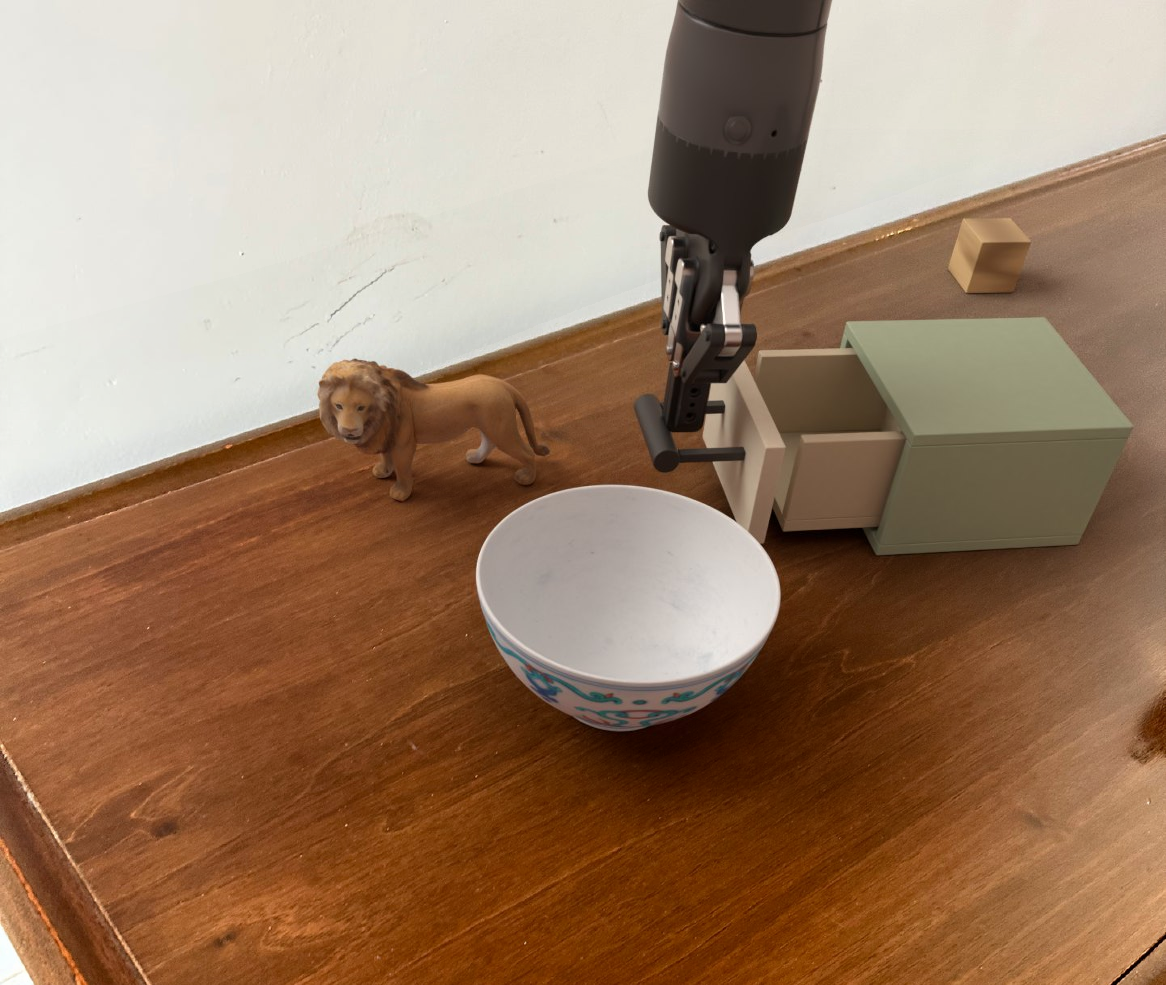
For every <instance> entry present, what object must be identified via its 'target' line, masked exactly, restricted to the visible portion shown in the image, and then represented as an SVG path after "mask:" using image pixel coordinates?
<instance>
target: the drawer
mask: <svg viewBox="0 0 1166 985" xmlns="http://www.w3.org/2000/svg"><path fill="white" fill-rule="evenodd" d="M663 403H664V401H660V399H659V398H658V396H656V395H655V394H653V393H644V394H641V395H640V396H638V397H637V398H636V399H635V402H634V404H633V409H634V410H633V411H634V413H635V416H636V419H637V422H638V424H639V427H640V430H641V433H642V436H643V439H644V443H645V445H646V448H647V451H648V454H649V456H650V460H651V462H652V466H653V467H654V469H655V471H657V472H659V473H664V474H667V473H671V472H673V471H674V470H676V469H677V467H679V465H680V464H687V463H688V464H689V463H690V464H693V463H712V465H713V467H714V470H715V472H716V475H717V477H718V480H719V482H720V484H721V488H722V490H723V492H724V495H725V497H726V499H727V502H728V504H729V508H730V509H731V512H732V514H733V516H734V519H735V522H737V523H738V524H739V525H741V526H742V527H743V528H744V529H746V530H747V531H748V532H749V533H750V534H751V535H752V536H753V537H754V538H755V539H756V540H757V541H758V542H759V543H760V545H763V544H764V543H765V540H766V536H767V531H768V527H769V521H770V518H771V514H772V510H773V512H774V515H775V517H776V519H777V522H778V523H779V526H780V528H781V531H782V532H798V531H818V530H821V531H822V530H837V529H838V530H839V529H840V530H841V529H859V528H862V527H879V525H880V522H881V518H882V515H883V512H884V509H885V506H886V502H887V499H888V496H889V493H890V490H891V487H892V483H893V480H894V477H895V474H896V471H897V467H898V464H899V461H900V458H901V455H902V452H903V448H904V445H905V442H906V440H907V439H906V437H905V435H904V433H903V432H902V430H901V428H900V427H899V425H898V423H897V422H896V420H895V418H894V417H893V415H892V413H891V411H890V410H889V408H888V406H887V405H886V403H885V401H884V400H883V398H882V396H881V395H880V393H879V391H878V389H877V388H876V386H875V384H874V383H873V381H872V379H871V378H870V376H869V374H868V373H867V371H866V369H865V367H864V366H863V364H862V362H861V361H860V359H859V357H858V356H857V354H856V352H855V351H854V349H853V348H840V347H839V348H838V347H837V348H810V349H809V348H801V349H797V348H796V349H762V350H761V349H760V350H758V354H757V360H756V364H755V369H754V375H752V372H751V370H750V368H749V366H748V364H747V362H746V359H745V360H744V361H743V362H742V364H741V365H740V366H739V367H738V369H737V370H736V371H735V373H734V374H733V375H732V377H731V378H730V379H729V380H728V382H727V383H711V385H710V390H709V396H708V401H707V406H706V412H705V418H704V424H703V431H702V439H703V442H704V444H705V447H699V448H697V447H696V448H678V447H677V445H676V443H675V439H674V438H673V435H672V434H673V433H672V432H670V431H669V430H668V429H667V426H666V423H665V420H664V418H663V415H662V410H663Z"/></svg>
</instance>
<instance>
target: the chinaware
mask: <svg viewBox="0 0 1166 985" xmlns="http://www.w3.org/2000/svg"><path fill="white" fill-rule="evenodd" d="M475 583H476V590H477V596H478V599H479V604H480V607H481V611H482V615H483V617H484V621H485V623H486V626H487V629H488V631H489V633H490V636H491V638H492V640H493V642H494V645H495V646H496V648H497V650H498V653H499V654H500V655H501V657H502V658H503V660H504V662H505V663H506V664H507V666H508V667H509V669H510V670H511V671H512V672H513V674H514V675H515V676H516V677H517V678H518V679H519V680H520V681H521V682H522V683H523V685H524V686H525V687H527V689H529V690H530V691H531V692H532V693H533V694H535V696H537V697H538V698H539V699H541V700H542V701H543V702H545V703H547V704H548V705H550V706H551V707H552V708H555V709H557V710H558V711H560V712H562V713H564V714H566V715H568V716H571V717H573V718H574V719H576V720H577V721H579V722H581V723H583V724H585V725H587V726H590V727H593V728H596V729H599V730H602V731H603V730H604V731H610V732H630V731H636V730H641V729H645V728H647V727H651V726H657V725H662V724H666V723H670V722H673V721H676V720H679V719H681V718H684V717H686V716H689V715H691V714H693V713H695V712H698V711H699V710H701V709H703V708H705V707H706V706H708V705H709V704H710V703H713V702H714V701H716V700H717V699H718V698H719V697H721V696H722V695H723V694H724V693H726V692H727V691H728V690H729V689H730V688H731V687H732V686H733V685H734V684H735V683H736V682H737V681H738V680H739V679H740V678H741V677H742V676H743V674H745V673H746V672H747V670H748V669H749V668H750V666H751V665H752V664H753V662H754V661H755V660H756V658H757V657H758V655H759V653H760V652H761V650H762V649H763V647H764V645H765V644H766V642H767V641H768V638H769V636H770V635H771V633H772V631H773V629H774V626H775V624H776V621H777V618H778V615H779V612H780V607H781V597H782V596H781V585H780V584H781V583H780V578H779V575H778V573H777V570H776V568H775V565H774V563H773V561H772V559H771V557H770V556H769V553H768V552H767V551H766V550H765V548H764V547H763V546H762V544H760V543H759V542H758V541H757V540H756V539H755V538H754V537H753V536H752V535H751V534H750V533H749V532H748V531H747V530H746V529H744V528H743V527H742V526H741V525H739V524H738V523H737V522H736V520H734V519H732V518H731V517H730V516H728V515H726V514H725V513H723V512H722V511H720V510H718V509H716V508H714V507H712V506H710V505H708V504H705V503H703V502H701V501H698V500H697V499H696V500H695V499H693V498H690V497H688V496H685V495H682V494H679V493H675V492H671V491H668V490H663V489H658V488H653V487H647V486H638V485H626V484H597V485H595V484H594V485H588V486H587V485H585V486H578V487H572V488H568V489H562V490H559V491H556V492H552V493H549V494H546V495H544V496H540V497H538V498H536V499H533V500H530V501H529V502H527V503H525V504H523V505H521V506H519V507H518V508H517V509H515V510H513V511H512V512H510V513H509V514H508V515H507V516H505V517H504V518H503V519H502V520H501V521H500V522H499V523H498V524H496V526H494V528H493V529H492V530H491V531H490V533H489V534H488V535H487V537H486V539H485V540H484V542H483V544H482V546H481V549H480V550H479V554H478V558H477V561H476V569H475Z"/></svg>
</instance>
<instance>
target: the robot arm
mask: <svg viewBox="0 0 1166 985" xmlns="http://www.w3.org/2000/svg"><path fill="white" fill-rule="evenodd" d="M676 2H677V3H676V7H675V8H676V9H675V14H674V18H673V22H672V25H671V26H672V27H671V30H670V34H669V38H668V42H667V46H666V51H665V57H664V63H663V71H662V79H661V87H660V94H659V103H658V110H657V116H656V125H655V133H654V140H653V149H652V156H651V165H650V172H649V179H648V180H649V181H648V188H647V199H648V203H649V206H650V207H651V209H652V211H653V212H654V214H655V215H656V216H657V217H658V218H659V219H661V220H662V222H664V223H666V224H663V225H662V226H661V230H660V232H659V242H660V287H661V289H660V290H661V291H660V294H661V321H660V328H661V331H662V335H663V336H667V341H666V342H667V344H666V345H665V354H666V358H667V361H668V362H669V366H668V372H667V378H666V383H665V384H666V385H665V391H664V397H663V402H664V403H663V410H662V415H663V418H664V420H665V423H666V426H667V429H668V430H669V431H670V432H671V433H696V432H699V431H700V430H701V429H703V427H704V423H705V418H706V414H705V412H706V406H707V401H709V395H710V388H711V383H727V382H728V380H729V379H730V378H731V377H732V375H733V374H734V373H735V371H736V370H737V369H738V367H739V366H740V365H741V364H742V362H743V361H744V360H745V361H746V359H747V357H748V356H749V355H750V353H751V352H752V350H753V349H754V348H755V346H756V342H757V340H758V331H757V327H756V324H755V323H741V315H742V314H741V313H742V309H743V305H744V301H745V299H746V297H748V296H749V295H750V293H751V289H752V285H753V280H754V277H755V263H754V260H753V259H752V253H751V251H752V249H753V247H754V246H755V245H756V244H758V243H759V242H760V241H762V240H764V239H765V238H768V237H769V236H773V235H775V234H777V233H779V232H780V231H782V230H783V229H784V228H785V227H786V226H787V224H788V223H789V221H790V219H791V217H792V214H793V210H794V204H795V200H796V195H797V190H798V186H799V183H800V182H799V181H800V177H801V173H802V168H803V163H804V160H805V155H806V150H807V145H808V140H809V135H810V132H811V128H812V122H813V118H814V113H815V109H816V103H817V100H818V96H819V91H820V86H821V79H822V74H823V73H822V72H823V66H824V53H825V43H826V35H827V29H828V22H829V21H828V20H829V18H830V13H831V9H832V3H833V0H677V1H676Z"/></svg>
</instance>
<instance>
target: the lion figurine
mask: <svg viewBox="0 0 1166 985" xmlns="http://www.w3.org/2000/svg"><path fill="white" fill-rule="evenodd" d="M316 395H317V397H318V400H319V402H318V409H319V419H320V421H321V423H322V426H323V427H324V429H325V430H326V431H327V433H328V434H329V435H331V436H333V437H334V438H335V439H338V440H339V441H341V442H344V443H345V444H347V445H350V446H354V447H356V448H357V449H358V451H359V452H360V453H362V454H364V455H378V454H379V456H380V461H379V462H378V463H377V464H375V465H374V466H373V469H372V474H373V475H374V477H375V478H377V479H385V478H388V477H390V476H391V475H392V473H393V471H394V473H395V475H396V484H394V485H392V486H391V487H390V489H389V497H390V498H392V499H393V500H394V501H399V502H404V501H406V500H407V499H409V497H410V495H411V494H412V490H413V482H414V480H413V477H412V466H413V460H414V455H415V454H416V452H417V447H418V446H417V445H428V444H440V443H446V442H449V441H452V440H454V439H457V438H459V437H461V436H462V435H464V434H465V433H467V432H468V431H470V430H471V429H472V428H475V429H478V431H479V433H480V436H481V443H480V446H479V447H478V448H470V449H468V450H467V451H466V453H465V461H467V462H468V463H470V464H481V463H483V461H485V459H487V457H488V456H489V455H490V454H491V453H492V451H494V449H495V448H496V449H497V450H499V451H500V452H502V453H504V454H506V455H508V456H509V457H511V458H513V459H515V460H517V461H519V462H520V463H521V464H522V466H523V468H521V469H520V468H519V469H518V470H517V471H515V474H514V480H515V481H516V482H517V483H518V484H520V485H522V486H529V485H531V484H532V483H533V482H534V481H535V480H536V476H537V464H536V456H535V455H537V456H539V457H540V456H541V457H544V458H545V457H546V456H547V455H549V454H550V453H551V450H550V449H549V447H548V446H546V445H543V444H539V443H538V442H537V437H536V436H537V435H536V431H535V426H534V420H533V417H532V413H531V410H530V407H529V406H528V403H527V402H526V400H525V398H524V396H523V394H522V393H521V392H520V391H519V390H517V389H516V388H515V387H514V386H513V385H512V384H510V383H509V382H507V381H505V380H503V379H501V378H498V377H495V376H491V375H487V374H482V373H481V374H474V375H470V376H467V377H463V378H461V379H457V380H452V381H446V382H438V383H423V382H420V381H418V380H416V379H414V378H413V376H411V375H410V374H409V373H407V372H405V371H404V370H402V369H398V368H396V369H395V368H393V367H387V366H386V365H385V364H381V365H379V363H378V362H376V360H375V361H374V360H372V361H370V360H368V361H367V360H365V359H358V358H356V357H355V358H352V359H351V360H349V359H342V360H341V361H338V362H337V361H336V362H333V363H332V364H331V365H330V366H328V367H327V369H326V370H325V372H324V374H322V376H321V379H320V380H318V389H317V394H316ZM516 410H517V411H516ZM517 412H518V415H519V417H520V420H521V422H522V426H523V429H524V432H525V435H526V439H527V442H528V443H526V442H525V441H524V439H523V437H522V435H521V434H520V432H519V428H518V423H517Z"/></svg>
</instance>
